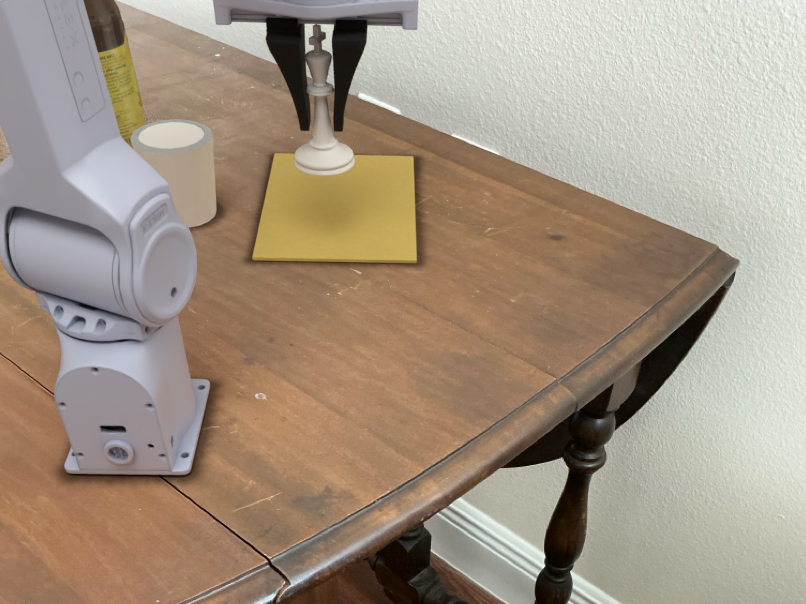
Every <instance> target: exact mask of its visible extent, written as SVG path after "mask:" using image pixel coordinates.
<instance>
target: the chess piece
mask: <svg viewBox="0 0 806 604" xmlns="http://www.w3.org/2000/svg"><path fill="white" fill-rule="evenodd" d="M326 39H327V33H326V31H322V24H312V35H311V36H310V37H308V45H309V46H313V49H311V50H308V51H307V52H305V53H306V55H305V60H306V66H307V67H308V70H309V73H310V76H311V78H312V82H311V83H309V84H308V86H307V90H306V91H307V93H308V94H309V96H313V97H314V102H313V103H314V107H313V108H314V109H313V111H314V113H313V129H312V137H311V138H310V139H309V140H308V142H306V143H304V144H302V145H300V146H299V147H297V149H296V150H295V152H294V154H295V160H294V164H295V166H296V167H297V168H298V169H299V170H300V171H302V172H304V173H307V174H311V175H317V176H330V175H337V174H340V173H343V172H346V171H348V170H349V169H351V168H352V167H353V165H354V163H355V160H354V157H353V156H354V155H355V154H354V151H353V149H352V148H351V147H350V146H349V145H348V144H345V143H343V142H340V141H338V139H337V138H336V137H334V133H333V132H334V131H333V127H332V120H331V116H330V115H331V114H330V109H329V108H330V107H329V101H328V96H330V95H332V94H334V84H331V83H330V82H328V81H327V79H328V76H329V72H330V67H331V64H332V61H333V54H332V53H331V52H330V51H328V50H326V49H323V41H325V40H326Z"/></svg>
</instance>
